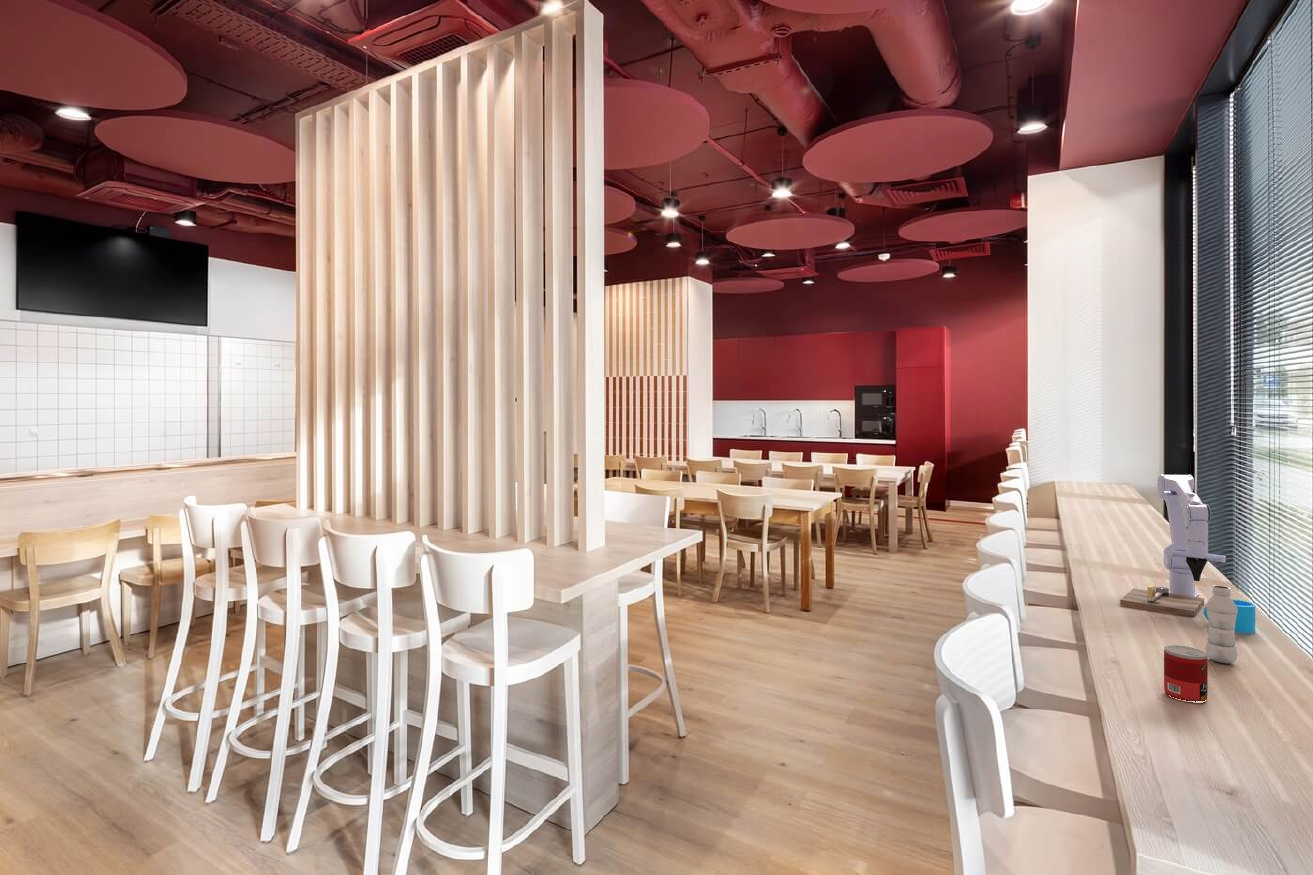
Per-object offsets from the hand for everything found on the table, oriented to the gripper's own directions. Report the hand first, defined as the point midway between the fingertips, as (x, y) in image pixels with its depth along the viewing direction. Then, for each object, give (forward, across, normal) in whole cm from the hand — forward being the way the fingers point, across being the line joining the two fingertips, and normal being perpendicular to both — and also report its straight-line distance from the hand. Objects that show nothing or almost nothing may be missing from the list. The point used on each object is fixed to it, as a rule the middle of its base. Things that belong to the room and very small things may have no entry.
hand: (1196, 580), depth 221 cm
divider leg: (+7, -11, -2) cm, 13 cm away
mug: (+10, +10, -19) cm, 24 cm away
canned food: (+10, +9, -88) cm, 89 cm away
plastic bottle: (+10, +12, -55) cm, 57 cm away
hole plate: (+9, -9, -2) cm, 13 cm away
